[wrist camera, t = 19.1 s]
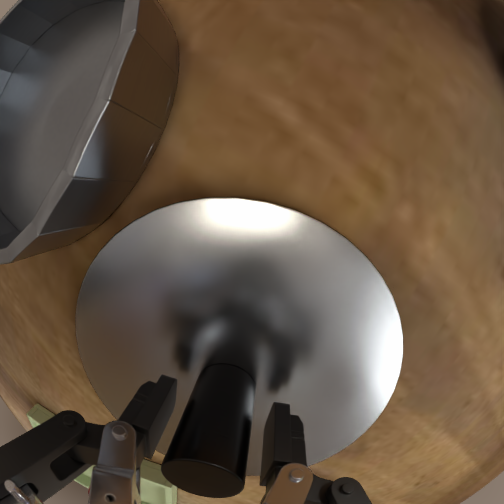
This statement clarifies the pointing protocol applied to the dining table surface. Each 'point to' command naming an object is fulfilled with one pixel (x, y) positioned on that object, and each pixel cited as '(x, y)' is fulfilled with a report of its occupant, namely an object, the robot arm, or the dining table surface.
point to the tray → (152, 480)
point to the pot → (77, 114)
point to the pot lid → (239, 333)
